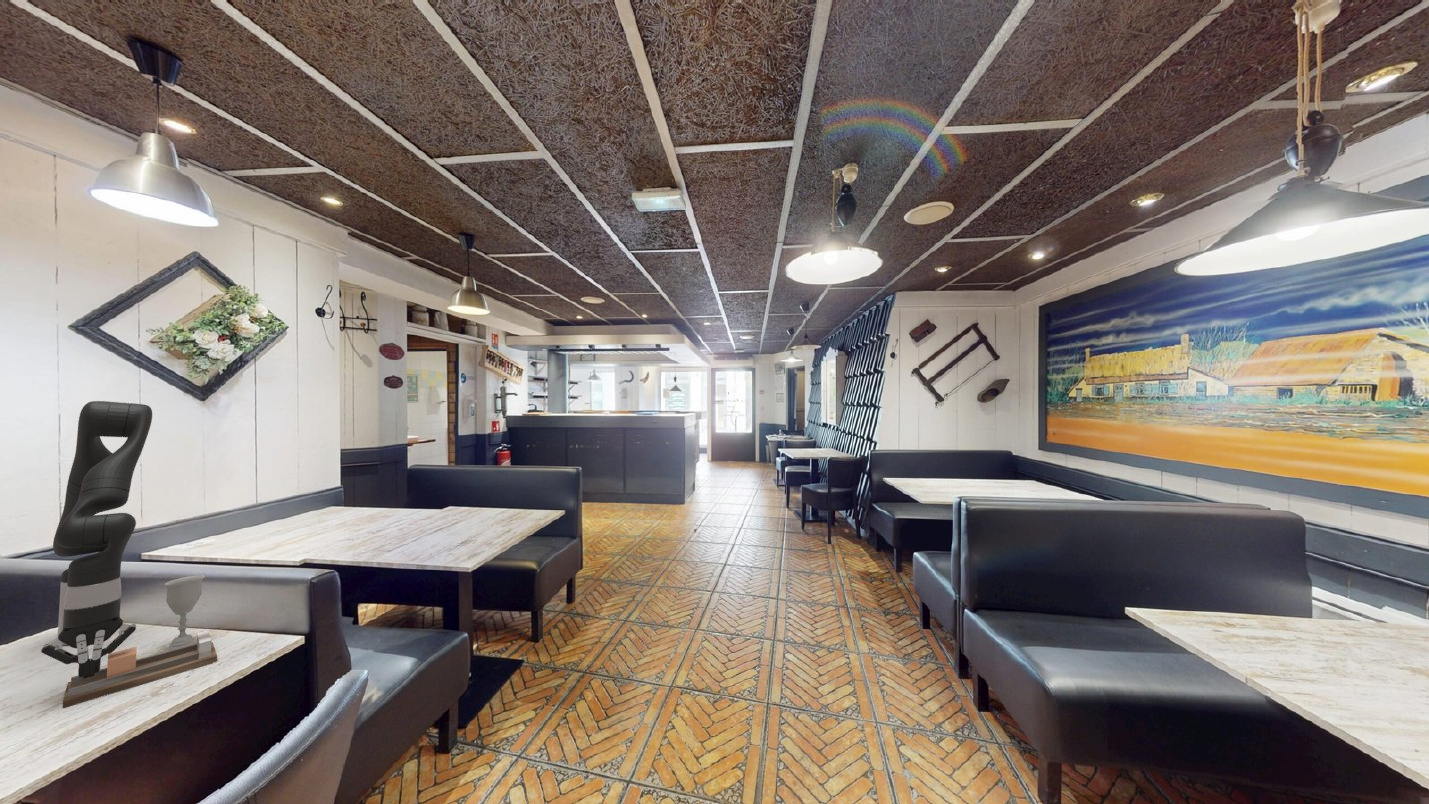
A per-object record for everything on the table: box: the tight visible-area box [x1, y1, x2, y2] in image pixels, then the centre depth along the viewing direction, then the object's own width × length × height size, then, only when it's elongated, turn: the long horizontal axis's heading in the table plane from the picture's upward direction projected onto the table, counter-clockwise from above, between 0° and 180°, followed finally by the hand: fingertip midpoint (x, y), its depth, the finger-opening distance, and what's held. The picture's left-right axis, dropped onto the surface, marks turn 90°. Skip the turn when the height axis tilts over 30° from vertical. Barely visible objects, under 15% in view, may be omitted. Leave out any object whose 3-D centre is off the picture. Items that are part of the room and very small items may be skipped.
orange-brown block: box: [106, 646, 138, 678], centre depth 102 cm, size 5×4×5 cm
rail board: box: [62, 630, 218, 709], centre depth 105 cm, size 11×22×6 cm, turn 144°
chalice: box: [163, 574, 206, 651], centre depth 118 cm, size 7×7×18 cm
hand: (88, 676), depth 98 cm, fingers closed
